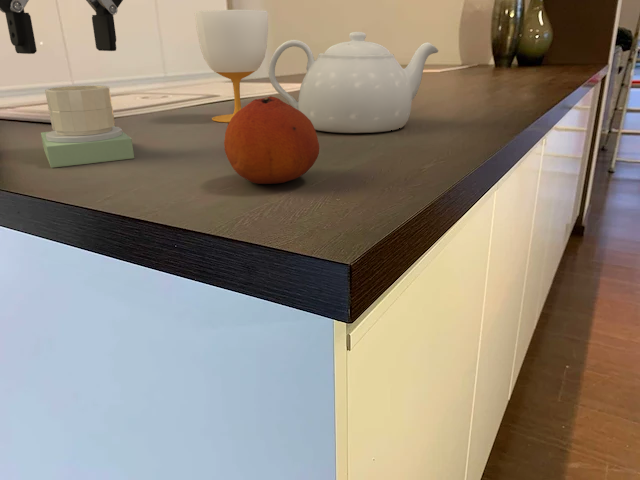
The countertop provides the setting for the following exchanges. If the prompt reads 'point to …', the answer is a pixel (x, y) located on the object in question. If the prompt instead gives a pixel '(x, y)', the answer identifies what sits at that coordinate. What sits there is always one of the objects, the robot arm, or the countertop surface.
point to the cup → (233, 45)
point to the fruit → (270, 142)
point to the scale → (86, 148)
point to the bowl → (80, 110)
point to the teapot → (355, 86)
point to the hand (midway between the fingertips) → (68, 51)
